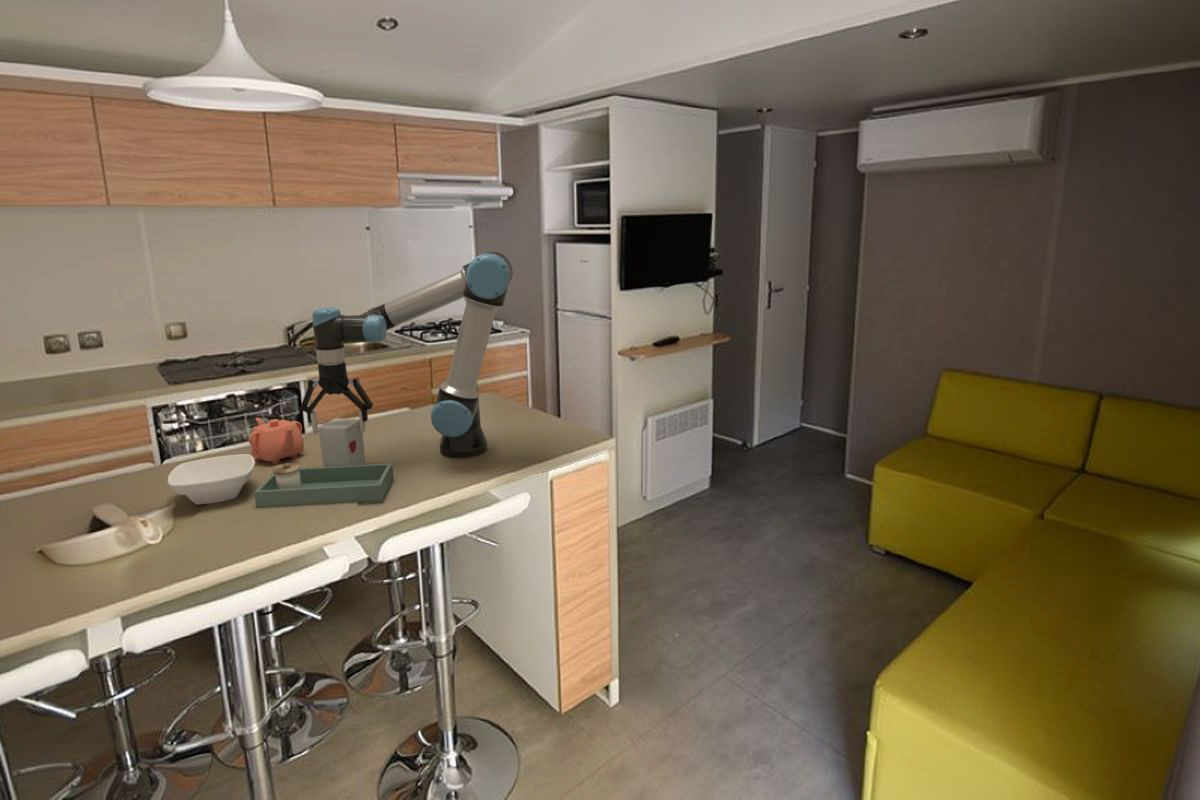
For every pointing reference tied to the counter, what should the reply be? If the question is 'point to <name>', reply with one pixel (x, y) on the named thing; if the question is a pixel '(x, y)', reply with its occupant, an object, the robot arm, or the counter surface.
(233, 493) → the bowl
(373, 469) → the tray
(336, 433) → the supplement box
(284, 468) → the lid
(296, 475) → the jar
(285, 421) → the teapot
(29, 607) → the counter surface
